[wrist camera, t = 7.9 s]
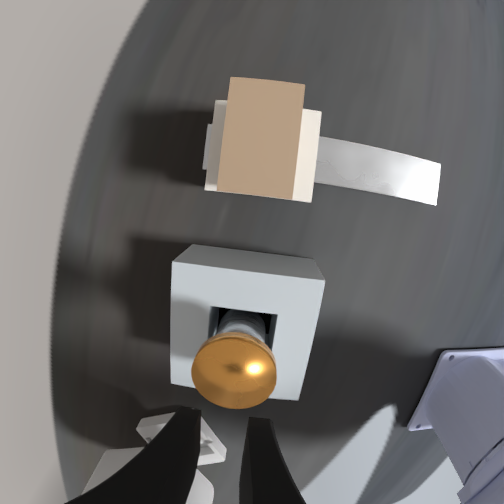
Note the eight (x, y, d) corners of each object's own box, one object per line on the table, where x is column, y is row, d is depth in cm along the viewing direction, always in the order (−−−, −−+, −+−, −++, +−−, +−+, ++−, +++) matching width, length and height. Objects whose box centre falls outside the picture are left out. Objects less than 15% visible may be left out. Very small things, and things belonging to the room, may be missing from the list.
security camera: (123, 417, 21) (75, 503, 12) (192, 403, 20) (156, 512, 11) (163, 462, 23) (134, 545, 13) (230, 453, 22) (215, 551, 12)
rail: (428, 164, 16) (440, 164, 14) (424, 203, 16) (435, 205, 15) (212, 128, 16) (207, 123, 15) (208, 170, 17) (202, 169, 15)
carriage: (313, 121, 16) (341, 86, 9) (304, 199, 16) (328, 210, 10) (223, 111, 16) (196, 70, 9) (213, 188, 17) (180, 193, 10)
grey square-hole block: (313, 258, 18) (325, 280, 14) (293, 362, 19) (298, 400, 15) (192, 243, 18) (172, 261, 14) (187, 348, 19) (171, 383, 15)
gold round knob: (279, 302, 15) (283, 347, 11) (270, 359, 16) (270, 413, 12) (212, 294, 15) (192, 335, 11) (208, 351, 16) (190, 402, 12)
